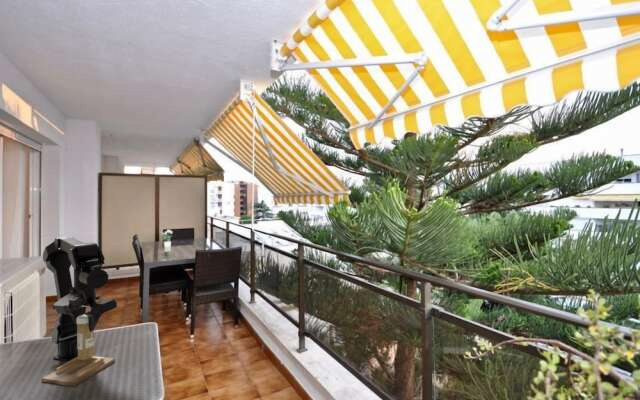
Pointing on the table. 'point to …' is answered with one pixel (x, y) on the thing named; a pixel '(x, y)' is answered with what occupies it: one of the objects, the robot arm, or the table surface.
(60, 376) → the bottle cradle
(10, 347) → the table surface
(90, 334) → the sprinkles bottle
